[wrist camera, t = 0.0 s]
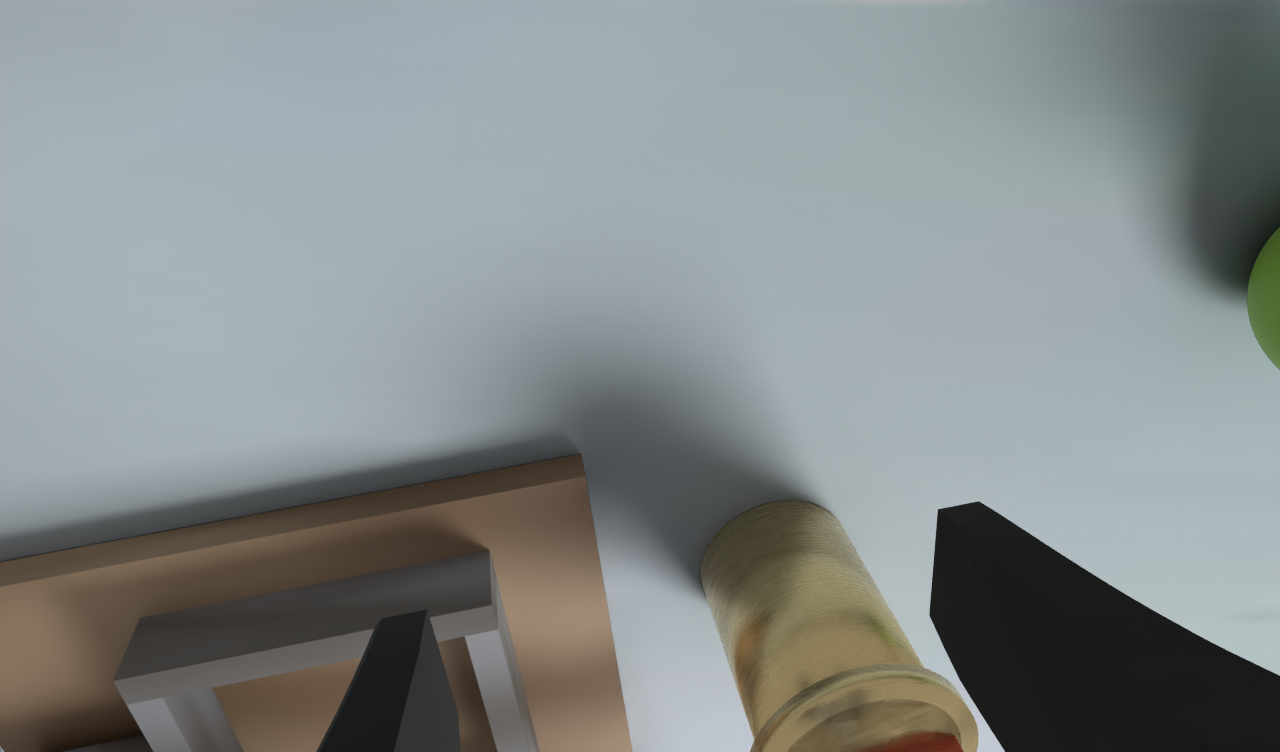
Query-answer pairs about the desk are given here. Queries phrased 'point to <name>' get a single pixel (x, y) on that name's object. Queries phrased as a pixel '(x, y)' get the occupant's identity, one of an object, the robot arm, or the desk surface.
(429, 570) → the board
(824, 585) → the cylinder
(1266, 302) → the snail figurine
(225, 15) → the desk surface
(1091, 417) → the desk surface
